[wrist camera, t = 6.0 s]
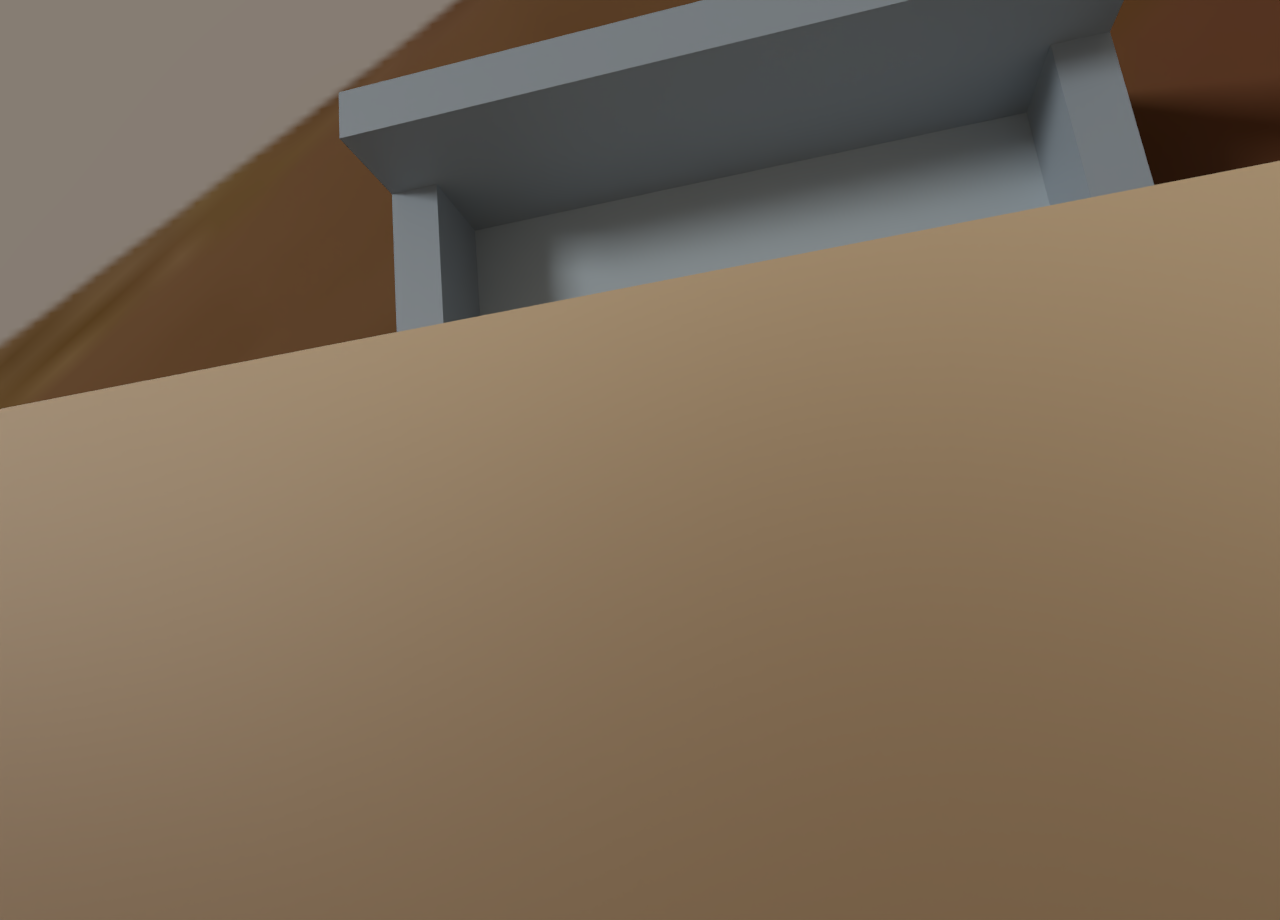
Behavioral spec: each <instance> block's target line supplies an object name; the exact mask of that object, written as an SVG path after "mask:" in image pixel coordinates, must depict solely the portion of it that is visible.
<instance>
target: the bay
mask: <svg viewBox="0 0 1280 920" xmlns="http://www.w3.org/2000/svg"><path fill="white" fill-rule="evenodd" d="M1123 1H1124V0H702V1H698V2H694V3H690V4H687V5H683V6H679V7H675V8H671V9H667V10H663V11H659V12H655V13H651V14H647V15H643V16H639V17H635V18H631V19H627V20H623V21H619V22H615V23H612V24H608V25H604V26H600V27H596V28H592V29H588V30H584V31H580V32H576V33H572V34H568V35H564V36H560V37H556V38H552V39H548V40H544V41H540V42H537V43H533V44H529V45H525V46H521V47H517V48H513V49H509V50H505V51H501V52H497V53H493V54H489V55H485V56H481V57H477V58H473V59H469V60H466V61H462V62H458V63H454V64H450V65H446V66H442V67H438V68H434V69H430V70H426V71H422V72H418V73H414V74H410V75H406V76H402V77H398V78H394V79H391V80H387V81H383V82H379V83H375V84H371V85H367V86H363V87H359V88H355V89H351V90H347V91H343V92H339V129H340V139H341V140H342V141H343V142H344V144H345V145H346V146H347V147H348V148H349V149H350V150H351V151H352V152H353V153H354V154H355V155H356V156H357V157H358V158H359V159H360V161H361V162H362V163H363V164H364V165H365V166H366V167H367V168H368V169H369V170H370V171H371V172H372V173H373V174H374V175H375V177H376V178H377V179H378V180H379V181H380V182H381V183H382V184H383V185H384V186H385V187H386V188H387V189H388V190H389V191H390V193H391V194H392V206H393V235H394V264H395V293H396V321H397V332H400V331H405V330H410V329H415V328H421V327H426V326H431V325H436V324H441V323H446V322H452V321H457V320H462V319H467V318H472V317H477V316H482V315H488V314H493V313H498V312H503V311H508V310H513V309H519V308H524V307H529V306H534V305H539V304H544V303H549V302H555V301H560V300H565V299H570V298H575V297H580V296H586V295H591V294H596V293H601V292H606V291H611V290H616V289H622V288H627V287H632V286H637V285H642V284H647V283H653V282H658V281H663V280H668V279H673V278H678V277H684V276H689V275H694V274H699V273H704V272H709V271H714V270H720V269H725V268H730V267H735V266H740V265H745V264H751V263H756V262H761V261H766V260H771V259H776V258H781V257H787V256H792V255H797V254H802V253H807V252H812V251H818V250H823V249H828V248H833V247H838V246H843V245H848V244H854V243H859V242H864V241H869V240H874V239H879V238H885V237H890V236H895V235H900V234H905V233H910V232H915V231H921V230H926V229H931V228H936V227H941V226H946V225H952V224H957V223H962V222H967V221H972V220H977V219H983V218H988V217H993V216H998V215H1003V214H1008V213H1013V212H1019V211H1024V210H1029V209H1034V208H1039V207H1044V206H1050V205H1055V204H1060V203H1065V202H1070V201H1075V200H1080V199H1086V198H1091V197H1096V196H1101V195H1106V194H1111V193H1117V192H1122V191H1127V190H1132V189H1137V188H1142V187H1147V186H1153V185H1154V183H1153V179H1152V176H1151V172H1150V169H1149V166H1148V162H1147V159H1146V155H1145V152H1144V148H1143V145H1142V141H1141V138H1140V134H1139V131H1138V127H1137V124H1136V121H1135V117H1134V114H1133V110H1132V107H1131V103H1130V100H1129V96H1128V93H1127V89H1126V86H1125V83H1124V79H1123V76H1122V72H1121V69H1120V65H1119V62H1118V58H1117V55H1116V51H1115V48H1114V44H1113V41H1112V38H1111V34H1110V30H1111V28H1112V25H1113V23H1114V21H1115V19H1116V16H1117V14H1118V12H1119V10H1120V7H1121V5H1122V3H1123Z"/></svg>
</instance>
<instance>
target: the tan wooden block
mask: <svg viewBox="0 0 1280 920" xmlns="http://www.w3.org/2000/svg"><path fill="white" fill-rule="evenodd" d="M0 920H1280V161H1276V162H1271V163H1266V164H1261V165H1256V166H1251V167H1245V168H1240V169H1235V170H1230V171H1225V172H1220V173H1214V174H1209V175H1204V176H1199V177H1194V178H1189V179H1184V180H1178V181H1173V182H1168V183H1163V184H1158V185H1153V186H1147V187H1142V188H1137V189H1132V190H1127V191H1122V192H1117V193H1111V194H1106V195H1101V196H1096V197H1091V198H1086V199H1080V200H1075V201H1070V202H1065V203H1060V204H1055V205H1050V206H1044V207H1039V208H1034V209H1029V210H1024V211H1019V212H1013V213H1008V214H1003V215H998V216H993V217H988V218H983V219H977V220H972V221H967V222H962V223H957V224H952V225H946V226H941V227H936V228H931V229H926V230H921V231H915V232H910V233H905V234H900V235H895V236H890V237H885V238H879V239H874V240H869V241H864V242H859V243H854V244H848V245H843V246H838V247H833V248H828V249H823V250H818V251H812V252H807V253H802V254H797V255H792V256H787V257H781V258H776V259H771V260H766V261H761V262H756V263H751V264H745V265H740V266H735V267H730V268H725V269H720V270H714V271H709V272H704V273H699V274H694V275H689V276H684V277H678V278H673V279H668V280H663V281H658V282H653V283H647V284H642V285H637V286H632V287H627V288H622V289H616V290H611V291H606V292H601V293H596V294H591V295H586V296H580V297H575V298H570V299H565V300H560V301H555V302H549V303H544V304H539V305H534V306H529V307H524V308H519V309H513V310H508V311H503V312H498V313H493V314H488V315H482V316H477V317H472V318H467V319H462V320H457V321H452V322H446V323H441V324H436V325H431V326H426V327H421V328H415V329H410V330H405V331H400V332H395V333H390V334H384V335H379V336H374V337H369V338H364V339H359V340H354V341H348V342H343V343H338V344H333V345H328V346H323V347H317V348H312V349H307V350H302V351H297V352H292V353H287V354H281V355H276V356H271V357H266V358H261V359H256V360H250V361H245V362H240V363H235V364H230V365H225V366H220V367H214V368H209V369H204V370H199V371H194V372H189V373H183V374H178V375H173V376H168V377H163V378H158V379H153V380H147V381H142V382H137V383H132V384H127V385H122V386H116V387H111V388H106V389H101V390H96V391H91V392H85V393H80V394H75V395H70V396H65V397H60V398H55V399H49V400H44V401H39V402H34V403H29V404H24V405H18V406H13V407H8V408H3V409H0Z"/></svg>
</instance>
